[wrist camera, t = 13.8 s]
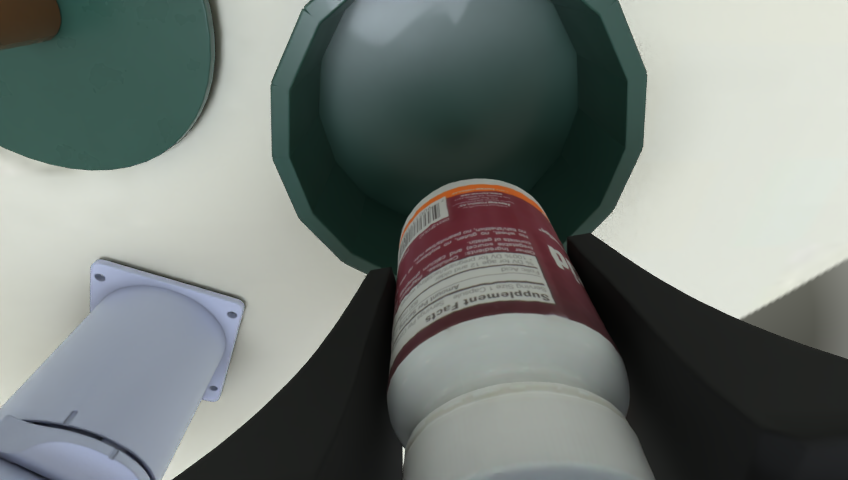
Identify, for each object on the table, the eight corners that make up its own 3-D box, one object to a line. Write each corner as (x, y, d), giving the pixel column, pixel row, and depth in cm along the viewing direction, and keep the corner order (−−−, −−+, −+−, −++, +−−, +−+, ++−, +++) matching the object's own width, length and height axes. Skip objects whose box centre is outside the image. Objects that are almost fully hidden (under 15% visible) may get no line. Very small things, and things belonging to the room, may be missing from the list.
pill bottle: (556, 283, 14) (687, 585, 7) (420, 310, 15) (421, 614, 8) (542, 155, 12) (719, 426, 5) (380, 193, 13) (330, 484, 6)
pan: (589, 199, 21) (637, 263, 17) (357, 245, 23) (341, 316, 18) (585, -103, 15) (660, -133, 10) (260, -14, 16) (198, -7, 12)
